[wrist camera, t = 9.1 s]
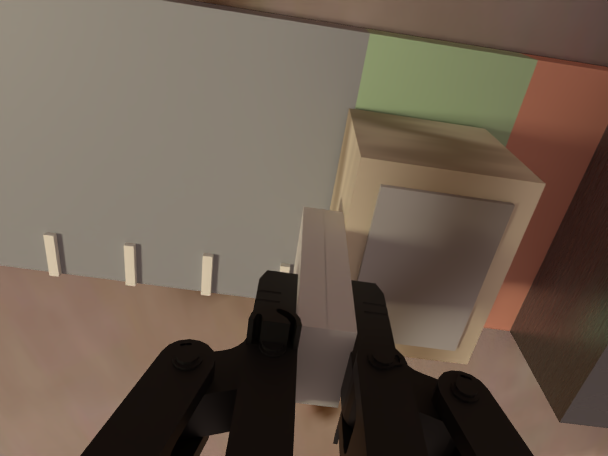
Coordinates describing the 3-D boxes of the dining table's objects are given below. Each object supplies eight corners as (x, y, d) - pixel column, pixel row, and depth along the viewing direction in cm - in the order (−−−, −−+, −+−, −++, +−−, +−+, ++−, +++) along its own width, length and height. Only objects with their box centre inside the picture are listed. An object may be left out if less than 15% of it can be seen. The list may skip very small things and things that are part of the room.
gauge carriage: (313, 294, 24) (312, 385, 19) (348, 108, 20) (361, 159, 14) (423, 308, 25) (453, 402, 19) (485, 128, 20) (548, 186, 14)
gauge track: (-34, 238, 26) (-63, 260, 24) (-105, -47, 19) (-154, -49, 17) (497, 308, 27) (511, 334, 25) (604, 66, 21) (635, 76, 19)
